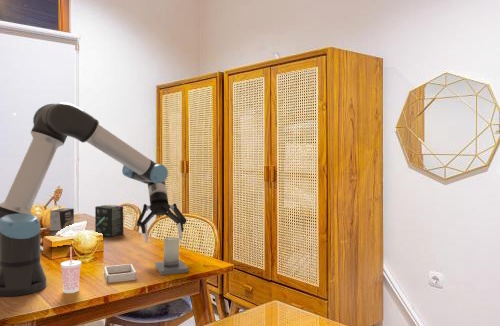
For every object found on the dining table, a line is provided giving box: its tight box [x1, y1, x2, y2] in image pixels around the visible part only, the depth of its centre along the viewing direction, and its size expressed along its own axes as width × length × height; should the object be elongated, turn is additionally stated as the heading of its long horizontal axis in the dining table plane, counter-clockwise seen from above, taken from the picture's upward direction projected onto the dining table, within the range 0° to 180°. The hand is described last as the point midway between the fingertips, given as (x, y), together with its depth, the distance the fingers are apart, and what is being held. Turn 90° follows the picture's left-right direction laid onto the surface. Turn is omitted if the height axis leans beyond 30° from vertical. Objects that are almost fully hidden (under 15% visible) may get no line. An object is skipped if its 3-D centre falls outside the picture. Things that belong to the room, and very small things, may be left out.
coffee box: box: [49, 207, 75, 237], centre depth 193 cm, size 9×6×16 cm
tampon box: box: [94, 204, 125, 238], centre depth 215 cm, size 11×9×15 cm
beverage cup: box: [60, 246, 82, 294], centre depth 134 cm, size 6×6×14 cm
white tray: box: [103, 263, 137, 284], centre depth 149 cm, size 10×11×2 cm
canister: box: [163, 236, 180, 267], centre depth 158 cm, size 6×6×10 cm
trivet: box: [154, 259, 190, 276], centre depth 159 cm, size 10×12×2 cm
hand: (164, 239), depth 168 cm, fingers open, 13 cm apart
